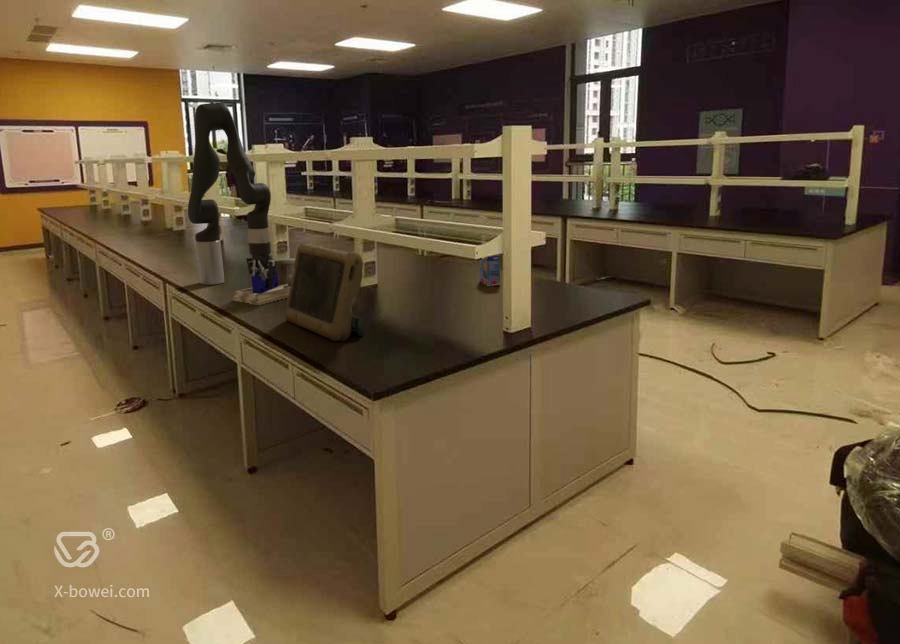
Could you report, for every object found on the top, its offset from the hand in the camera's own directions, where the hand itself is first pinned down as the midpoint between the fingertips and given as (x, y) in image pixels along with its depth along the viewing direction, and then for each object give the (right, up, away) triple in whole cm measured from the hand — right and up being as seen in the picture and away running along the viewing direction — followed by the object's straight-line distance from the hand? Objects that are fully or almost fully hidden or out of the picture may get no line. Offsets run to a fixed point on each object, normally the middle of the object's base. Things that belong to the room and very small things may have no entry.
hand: (263, 286), depth 234 cm
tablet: (+29, -15, -37) cm, 49 cm away
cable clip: (0, -1, +1) cm, 1 cm away
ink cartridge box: (+83, +2, +22) cm, 86 cm away
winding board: (+3, -3, +5) cm, 7 cm away
